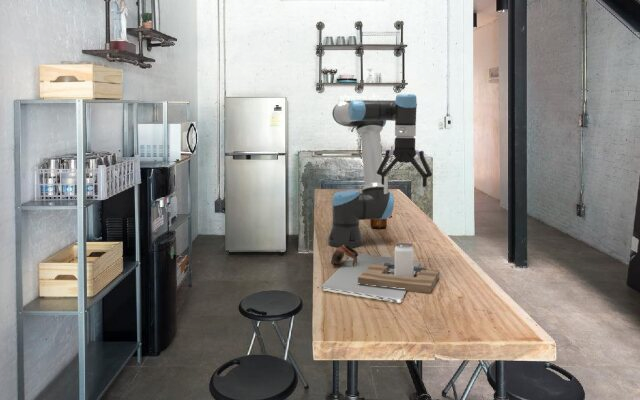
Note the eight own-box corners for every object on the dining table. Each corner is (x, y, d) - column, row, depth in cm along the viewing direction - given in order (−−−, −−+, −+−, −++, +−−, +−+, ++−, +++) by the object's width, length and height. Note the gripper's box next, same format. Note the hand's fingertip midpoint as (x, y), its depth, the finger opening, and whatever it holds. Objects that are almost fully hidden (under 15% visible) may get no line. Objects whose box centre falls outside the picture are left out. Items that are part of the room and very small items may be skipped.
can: (401, 274, 187) (402, 241, 186) (417, 278, 183) (417, 244, 181) (390, 278, 183) (390, 244, 181) (406, 282, 178) (406, 247, 177)
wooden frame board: (372, 270, 193) (372, 263, 193) (439, 277, 184) (439, 270, 184) (357, 284, 176) (358, 277, 176) (430, 293, 168) (430, 285, 167)
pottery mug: (335, 260, 208) (346, 242, 207) (353, 274, 204) (364, 256, 202) (321, 259, 197) (332, 241, 196) (340, 274, 193) (351, 255, 192)
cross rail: (385, 271, 192) (385, 262, 191) (426, 275, 186) (426, 267, 186) (383, 272, 190) (384, 264, 189) (425, 277, 185) (425, 268, 184)
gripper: (369, 136, 195) (368, 193, 198) (437, 138, 186) (435, 197, 189) (374, 136, 201) (373, 191, 205) (441, 137, 192) (438, 194, 196)
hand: (403, 194), depth 197 cm, fingers open, 13 cm apart
